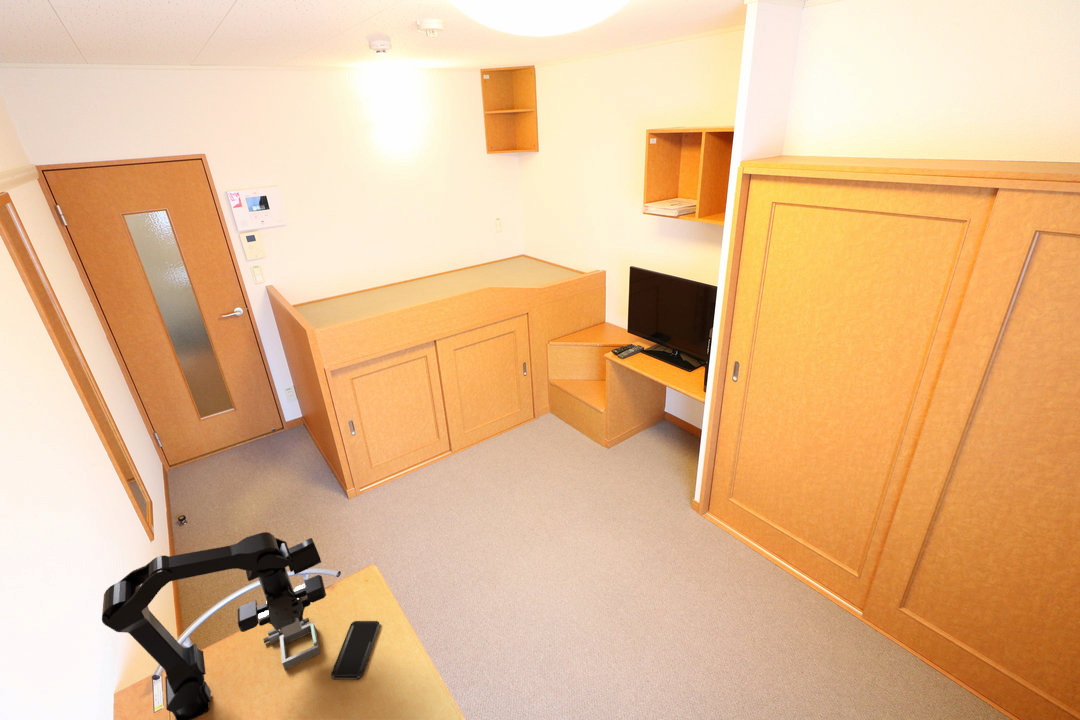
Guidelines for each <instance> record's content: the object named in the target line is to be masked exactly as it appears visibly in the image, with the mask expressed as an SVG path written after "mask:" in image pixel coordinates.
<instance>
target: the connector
mask: <svg viewBox="0 0 1080 720" xmlns="http://www.w3.org/2000/svg"><path fill="white" fill-rule="evenodd" d="M281 630H282V633H283V635H284V638H285V637H287V636H289V635H292V634H294V633H296V632H299V631H301V630H302V627H301V622H300V620H299V617H298V618H296V621H295V622H294V623H293V624H290V625H287V626H285V627H283V628H281ZM281 630H280V631H281Z"/></svg>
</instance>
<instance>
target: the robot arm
mask: <svg viewBox="0 0 1080 720" xmlns="http://www.w3.org/2000/svg"><path fill="white" fill-rule="evenodd" d="M288 546H289V545H288V543H287V541H285V540H283V539H280V538H277V537H276V536H275V535H273V534H272V533H270V532H268V531H265V532H260V533H256V534H253V535H249V536H246V537H245V538H243V539H241V540H240V541H239V542H236V543H234V544H230V545H226V546H221V547H215V548H208V549H203V550H199V551H191V552H187V553H186V552H185V553H181V554H175V555H170V556H169V555H159V556H156V557H155V558H153V559H152V560H150V561H149V562H148V563H147V564H146V565H142V566H141V567H138V568H136V569H133V570H132V571H130V572H129V573H128V574H126V575H125V577H123V578H122V579H121V580H119V581H118V582H116V583H114V584H112V585H110V586H109V587H108V588H107V589H106V591H104V594H103V601H102V602H103V603H102V613H101V622H102V624H103V625H105V627H108V628H110V629H111V630H112V631H114V632H116V633H127V634H129V635H130V636H131V637H132V638H133V639H134V640H135V641H136V643H138V644H139V645H140V647H142V648H143V649H144V650H145V651H146V652H147V654H148V655H149V656H151V657H152V658H153V660H155V662H156V663H157V664H158V665H159V666H161V668H163V669H162V670H164V672H165V675H166V676H165V678H164V681H165V682H164V683H165V705H166V706H165V708H166V711H168V712H169V713H170V712H171V713H172V715H173V716H174V718H175V720H194V719H196V718H198V717H201V716H202V715H205V714H206V713H208V712H209V710H210V702H211V700H212V699H211V696H212V691H211V689H210V685H209V686H208V683H207V682H206V681H205V675H206V673H207V672H206V665H205V664H206V663H205V656H204V650H201V649H199V647H198V646H197V644H196V643H193V644H192V645H190V646H189V647H187V646H186V647H183V646H182V645H181V643H180V642H179V641H177V640H176V638H175V637H174V636H173V635H172V633H170V632H169V630H168V629H167V628H166V627H165V626H164V625H163V624H162V623H161V621H160V620H159V619H157V617H156V616H155V615H154V614H153V612H151V610H150V609H149V605H150V604H151V602H152V601H153V600H154V599H155V597H156V596H157V594H158V593H159V592H160V591H161V590H162V589H163V587H165V586H166V585H167V584H169V583H170V582H175V581H178V580H179V581H180V580H184V579H189V578H194V577H199V576H203V575H208V574H213V573H219V572H223V571H224V572H225V571H227V570H241V571H242V570H243V571H245V574H246V577H247V581H248V582H251V581H253V580H255V579H258V581H259V584H260V586H261V589H262V591H263V593H264V594H263V595H264V596H265V599H266V603H263V604H261V605H259V606H258V601H257V600H256V599H255V600H253V601H250V602H247V603H245V604H242V605H240V606H239V607H238V609H237V626H238V628H239V630H240V632H242V633H245V632H247V631H249V630H252V629H254V628H256V627H257V626H258V625H259V626H260V627H263V626H264V625H268V624H269V625H271V626H272V628H273V629H275V630H279V631H281V628H283V627H285V626H287V625H290V624H293V623H294V622H295V621H296V618H298V617H299V620H300V622H302V618H303V619H304V611H305V609H306V608H307V607H309V606H310V605H311V603H315V602H317V601H320V600H323V599H324V598H326V596H327V593H326V592H327V591H326V587H325V582H324V578H323V576H322V575H320V574H317V575H315V576H312V577H310V578H307V579H305V580H304V583H303V584H300V585H298V586H296V587H295V588H293V584H292V583H291V579H290V576H289V574H288V570H287V568H289V571H290V573H292V572H293V574H294V575H298V574H300V573H302V572H304V571H306V570H308V569H310V568H312V567H315V566H317V565H319V564H321V563H322V559H321V556H320V553H319V551H318V549H317V547H316V544H315V541H314V540H313V538H312V537H310V538H307V539H305V540H304V541H303V542H300V543H298V544H296V545H293V546H291V547H288Z"/></svg>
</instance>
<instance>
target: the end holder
mask: <svg viewBox="0 0 1080 720" xmlns="http://www.w3.org/2000/svg"><path fill="white" fill-rule="evenodd" d="M310 633H311V637H312V642H313V646H311V647H308V648H306V649H304V650H302V651H300V652H298V653H296V654H292V655H291V656H289V657H288V653H287V643H290V642H292V641H295V640H297V639H299V638H301V637H303V636H306V635H308V634H310ZM279 637H280V640H279V646H280V655H281V664H282V666H283V668H284V670H286V671H287V669H290V668H292V667H294V666H296V665H298V664H300V663H303V662H305V661H306V660H309V659H311V658H312V657H315V656H318V655H319V654H321V651H320V646H319V640H318V636H317V629H316V626H315V622H314V621H311V622H308V623H306V624H305V625H304V626H302V630H301V631H299V632H296V633H294V634H292V635H289V636H287V637H285V638H284V635H281V636H279Z"/></svg>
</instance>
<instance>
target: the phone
mask: <svg viewBox="0 0 1080 720" xmlns="http://www.w3.org/2000/svg"><path fill="white" fill-rule="evenodd" d="M380 628H381V624H380V622H379V621H377V620H354V621H353V622H351V623H350V625H349V628H348V630H347V633H346V635H345V638H344V641H343V643H342V645H341V647H340V650H339V653H338V656H337V658H336V660H335V663H334V665H333V669H332V670H331V674H330V676H331V679H333V680H335V681H337V680H339V681H340V680H341V681H342V680H343V681H345V680H346V681H347V680H348V681H349V680H350V681H354V680H355V681H359V680H361V679H362V678H363V677H364V675H365V672H366V669H367V666H368V665H369V664H368V663H369V661H370V656H371V653H372V650H373V648H374V646H375V645H374V644H375V642H376V640H377V636H378V634H379V630H380Z"/></svg>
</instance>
